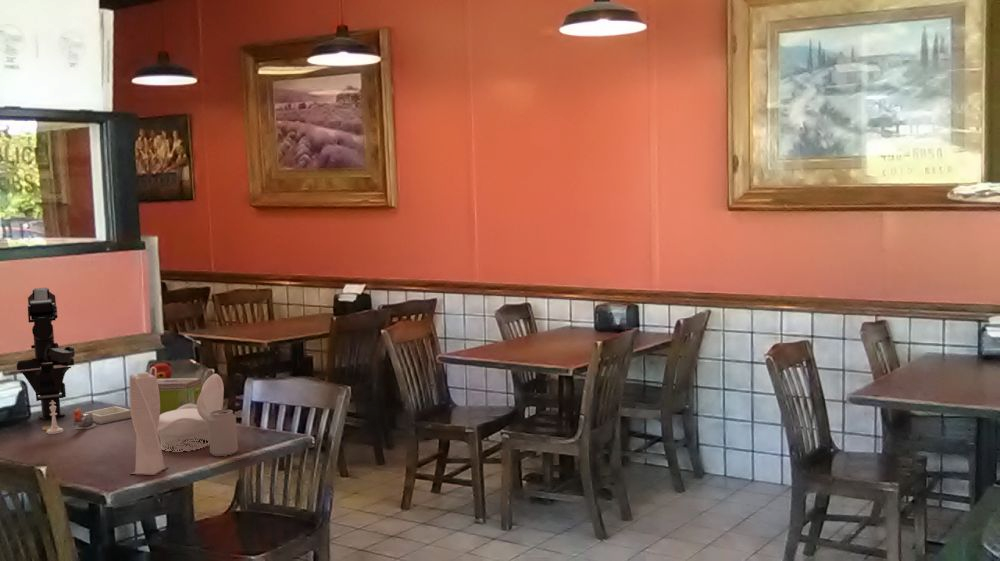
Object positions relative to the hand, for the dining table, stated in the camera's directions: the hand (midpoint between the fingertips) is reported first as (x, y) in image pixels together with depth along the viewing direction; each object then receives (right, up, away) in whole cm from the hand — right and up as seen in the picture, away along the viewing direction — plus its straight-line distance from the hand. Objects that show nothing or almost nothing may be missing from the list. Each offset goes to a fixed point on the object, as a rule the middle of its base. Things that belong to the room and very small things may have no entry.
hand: (48, 391), depth 320 cm
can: (+62, -14, -32) cm, 71 cm away
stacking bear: (+30, -11, +18) cm, 37 cm away
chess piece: (+1, -13, +3) cm, 14 cm away
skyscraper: (+47, -16, -47) cm, 69 cm away
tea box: (+38, -12, +4) cm, 40 cm away
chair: (+50, -14, -20) cm, 56 cm away
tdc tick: (-3, -13, +7) cm, 15 cm away
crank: (+9, -12, +5) cm, 15 cm away
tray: (+11, -11, +19) cm, 25 cm away
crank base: (+8, -12, +9) cm, 17 cm away
